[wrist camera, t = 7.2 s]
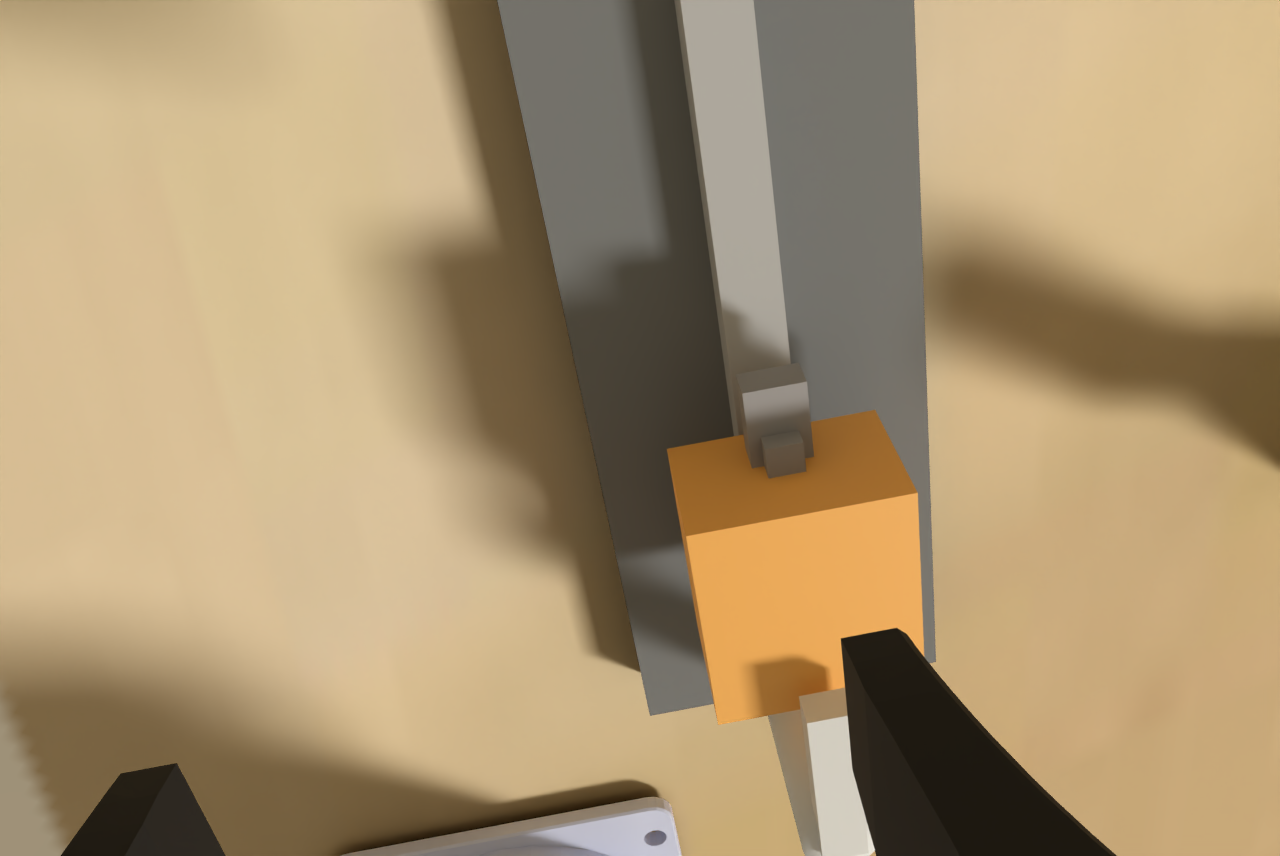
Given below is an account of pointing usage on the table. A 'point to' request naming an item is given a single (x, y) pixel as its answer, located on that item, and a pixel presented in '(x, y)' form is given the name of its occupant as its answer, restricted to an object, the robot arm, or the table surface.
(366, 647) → the table surface
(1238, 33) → the table surface
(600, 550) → the table surface
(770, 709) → the orange cube with peg
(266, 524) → the table surface
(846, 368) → the linear slider rail
